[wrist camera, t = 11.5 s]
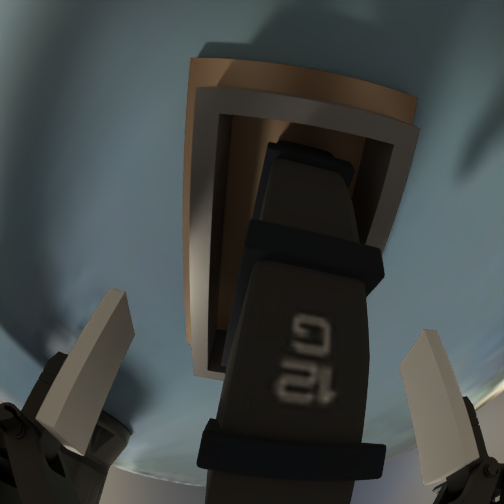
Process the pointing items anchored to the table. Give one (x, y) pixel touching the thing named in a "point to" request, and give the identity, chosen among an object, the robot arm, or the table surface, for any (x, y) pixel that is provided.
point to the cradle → (215, 181)
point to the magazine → (296, 344)
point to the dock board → (257, 138)
